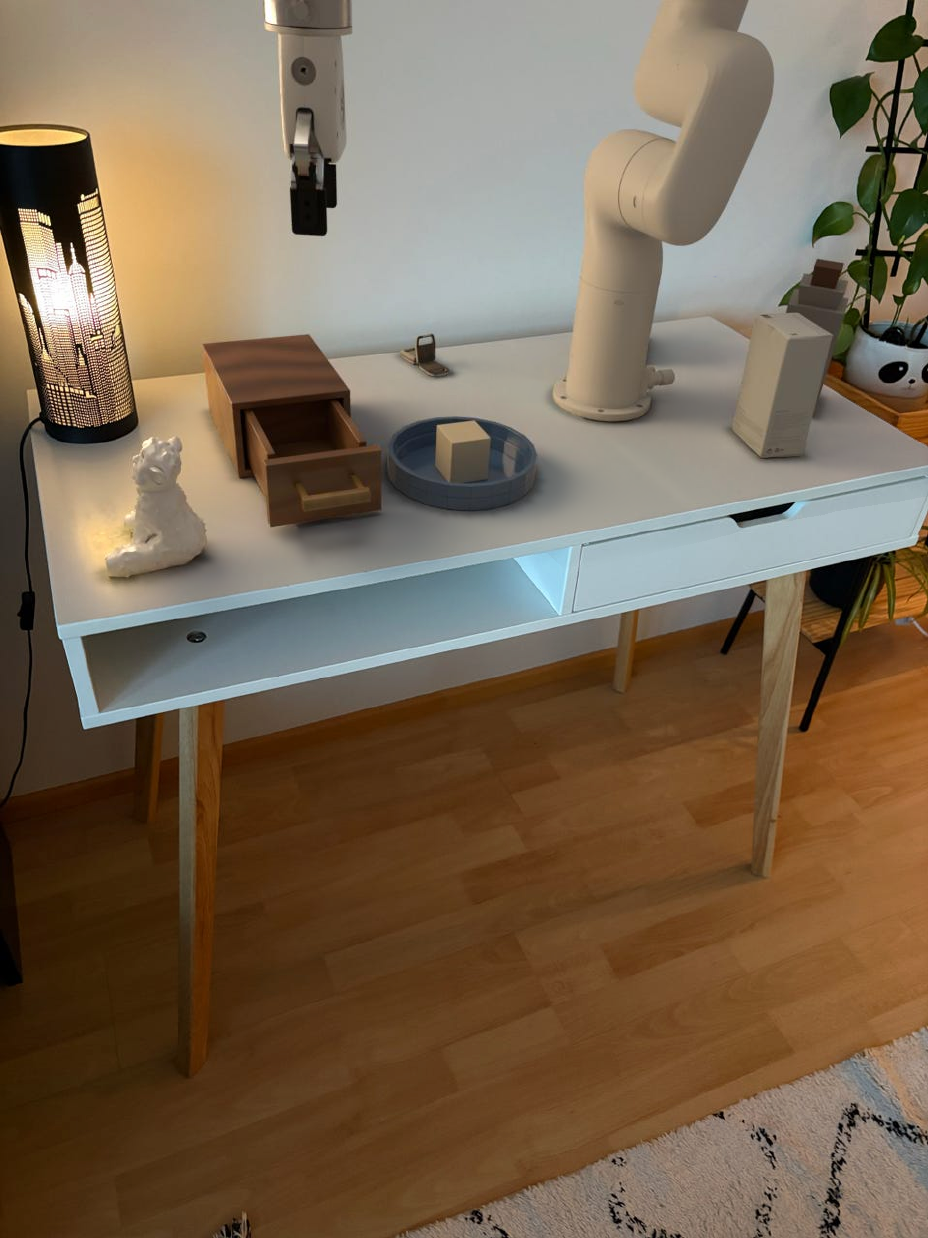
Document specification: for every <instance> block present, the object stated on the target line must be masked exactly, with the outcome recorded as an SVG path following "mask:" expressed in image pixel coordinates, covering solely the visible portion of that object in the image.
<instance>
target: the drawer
mask: <svg viewBox="0 0 928 1238" xmlns="http://www.w3.org/2000/svg"><path fill="white" fill-rule="evenodd" d="M240 415H241V427H242V438H243V449H244V454H245V456H246V459H247V461H248V463H249V465H250V467H251V469H252V471H253V473H254V475H255V476H254V478H255V479H256V481H257V484H258V486H259V488H260V490H261V492H262V494H263V496H264V498H265V502H266V503H265V505H266V517H267V523H268V525H269V527H270V528H276V527H281V526H288V525H294V524H301V523H308V522H313V521H320V520H325V519H326V520H327V519H332V518H333V519H334V518H339V517H346V516H352V515H356V514H358V515H359V514H363V513H370V512H377V511H381V510H382V452H383V451H382V449H381V447H380V446H379V445H378V444H373V445H367V444H368V443H367V440H366V438H365V437H364V435H363V434H362V432H361V431H360V430H359V428H358V427H357V425H356V424H355V422H354V421H353V420H352V417H351V418H350V417H349V416H348V414H347V413H346V411H345V410H344V408H343V407H342V406H341V404H340V403H339V401H338V400H337V398H336V399H327V400H318V401H310V402H301V403H292V404H283V405H275V406H266V407H257V408H249V409H240Z"/></svg>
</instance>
